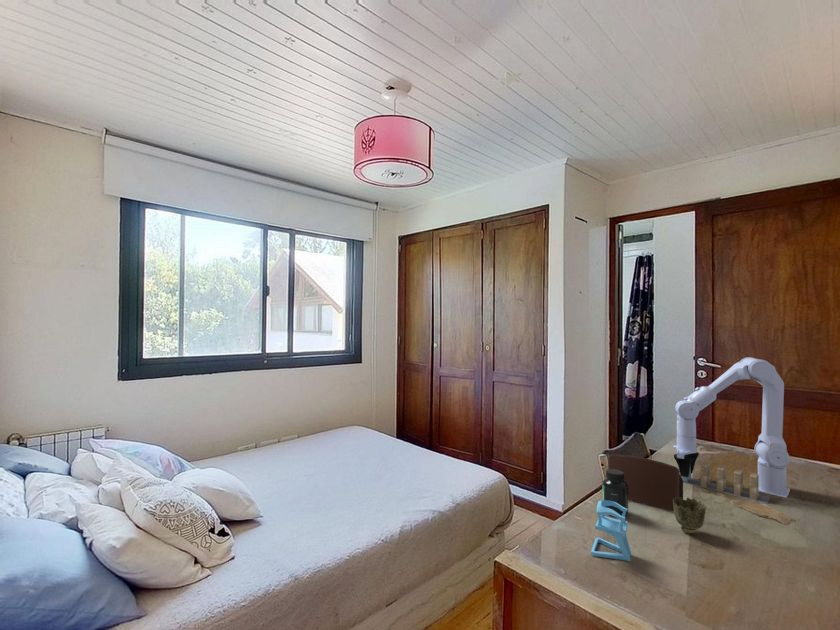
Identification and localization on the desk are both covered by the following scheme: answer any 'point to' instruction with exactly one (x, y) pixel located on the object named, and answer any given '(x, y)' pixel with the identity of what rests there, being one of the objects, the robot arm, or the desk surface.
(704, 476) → the tile
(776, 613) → the desk surface
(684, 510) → the cup
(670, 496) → the letter holder
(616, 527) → the light blue stand
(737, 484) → the tile
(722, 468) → the tile
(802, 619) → the desk surface
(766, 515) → the pottery shard
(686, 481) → the tile
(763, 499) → the felt runner
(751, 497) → the tile
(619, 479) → the supplement bottle
